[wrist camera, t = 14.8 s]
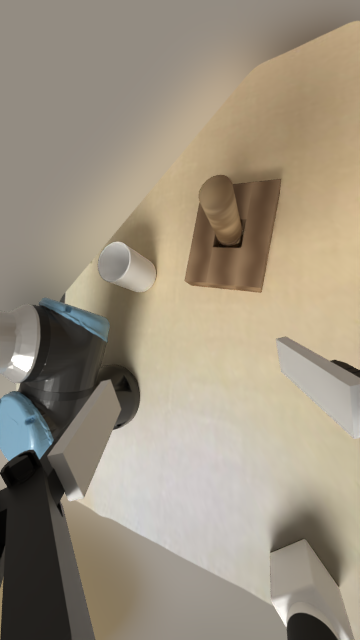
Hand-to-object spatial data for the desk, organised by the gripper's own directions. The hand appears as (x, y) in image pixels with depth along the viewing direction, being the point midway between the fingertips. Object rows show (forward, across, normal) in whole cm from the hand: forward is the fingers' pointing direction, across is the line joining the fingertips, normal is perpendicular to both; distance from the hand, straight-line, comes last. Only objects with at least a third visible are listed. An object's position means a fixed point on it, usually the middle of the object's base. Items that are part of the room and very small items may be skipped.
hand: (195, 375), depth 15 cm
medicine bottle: (+9, +9, -43) cm, 45 cm away
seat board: (+31, +14, +11) cm, 35 cm away
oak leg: (+31, +14, +11) cm, 36 cm away
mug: (+39, -9, +11) cm, 42 cm away
